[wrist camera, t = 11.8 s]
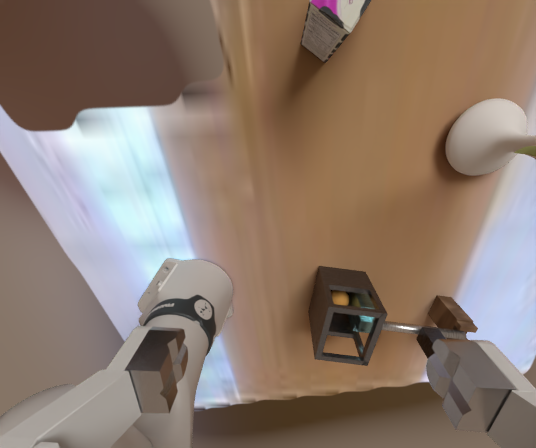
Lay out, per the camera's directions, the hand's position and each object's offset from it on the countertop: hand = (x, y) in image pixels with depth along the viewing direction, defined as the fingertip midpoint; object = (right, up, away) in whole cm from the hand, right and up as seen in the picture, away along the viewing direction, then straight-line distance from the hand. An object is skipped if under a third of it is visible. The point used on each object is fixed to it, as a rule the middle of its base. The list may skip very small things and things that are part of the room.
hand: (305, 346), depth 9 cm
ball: (+13, -11, +45) cm, 48 cm away
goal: (+13, -11, +46) cm, 49 cm away
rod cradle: (+35, -13, +46) cm, 60 cm away
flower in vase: (+32, +18, +33) cm, 49 cm away
